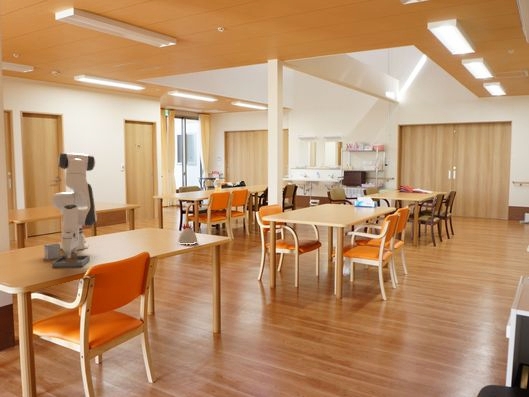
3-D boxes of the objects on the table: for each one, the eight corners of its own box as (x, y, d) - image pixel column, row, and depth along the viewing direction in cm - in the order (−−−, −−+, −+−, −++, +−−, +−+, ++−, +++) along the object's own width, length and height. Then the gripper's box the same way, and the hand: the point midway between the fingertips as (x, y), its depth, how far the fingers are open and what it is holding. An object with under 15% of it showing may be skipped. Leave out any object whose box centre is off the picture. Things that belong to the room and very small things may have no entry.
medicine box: (57, 256, 287) (56, 243, 287) (60, 257, 285) (60, 244, 284) (44, 258, 281) (44, 244, 281) (47, 259, 278) (47, 245, 278)
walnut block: (68, 261, 270) (68, 253, 270) (77, 261, 271) (77, 252, 271) (66, 263, 265) (65, 254, 265) (75, 263, 266) (74, 254, 266)
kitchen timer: (180, 241, 345) (180, 222, 344) (198, 242, 345) (198, 222, 344) (176, 245, 331) (176, 224, 330) (195, 245, 331) (195, 224, 330)
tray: (62, 260, 276) (62, 255, 276) (89, 260, 278) (89, 255, 278) (52, 267, 258) (52, 262, 258) (81, 267, 260) (81, 262, 260)
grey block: (66, 258, 284) (66, 245, 283) (78, 258, 284) (78, 245, 284) (63, 260, 277) (62, 247, 276) (75, 260, 278) (75, 247, 277)
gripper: (70, 230, 277) (71, 252, 278) (60, 235, 256) (60, 260, 258) (81, 230, 277) (81, 252, 279) (71, 235, 257) (72, 259, 258)
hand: (71, 256), depth 268 cm, fingers open, 7 cm apart
